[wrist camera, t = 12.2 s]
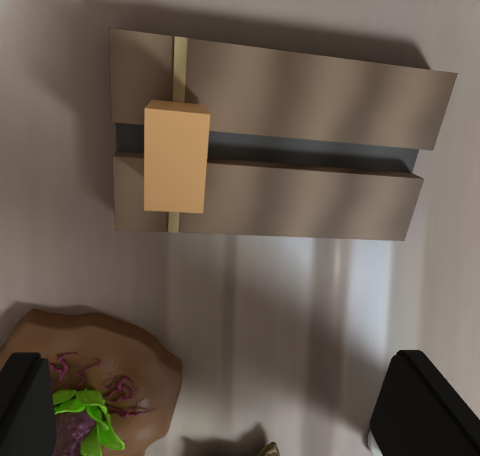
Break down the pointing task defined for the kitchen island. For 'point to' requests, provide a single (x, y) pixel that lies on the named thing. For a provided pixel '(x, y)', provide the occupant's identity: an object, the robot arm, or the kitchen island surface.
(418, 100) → the slider console
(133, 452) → the plant
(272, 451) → the ceramic sculpture
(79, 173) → the kitchen island surface
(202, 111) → the fader tab
